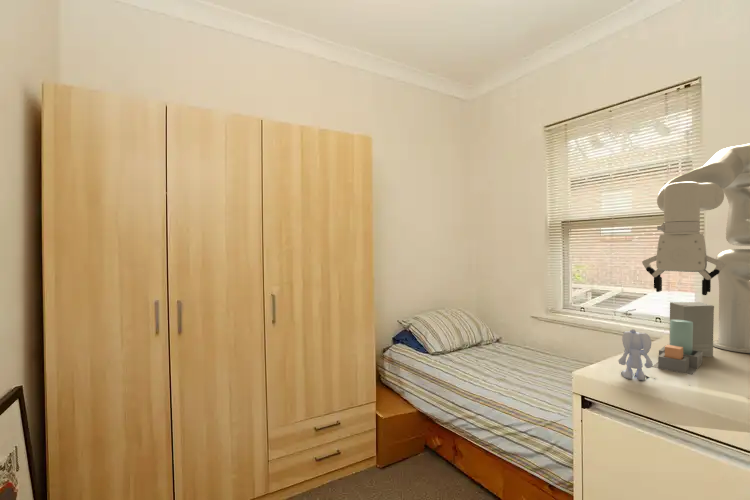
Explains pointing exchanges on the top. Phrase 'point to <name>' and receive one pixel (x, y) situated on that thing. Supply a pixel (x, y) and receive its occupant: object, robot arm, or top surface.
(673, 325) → the cartridge
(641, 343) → the toy figurine
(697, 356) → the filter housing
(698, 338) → the skincare box
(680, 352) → the plunger
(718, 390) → the top surface
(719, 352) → the top surface
